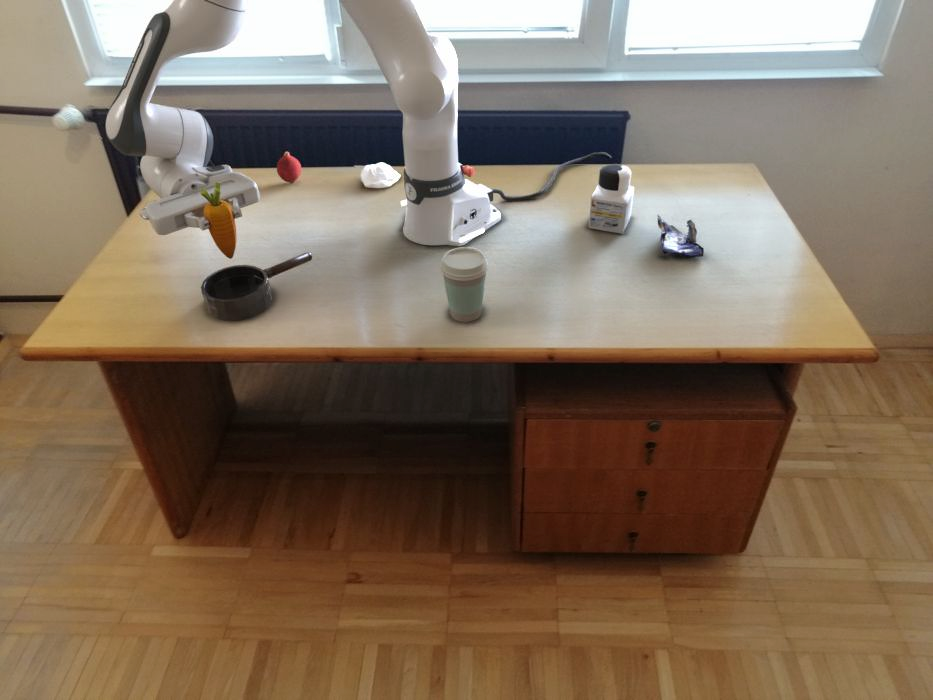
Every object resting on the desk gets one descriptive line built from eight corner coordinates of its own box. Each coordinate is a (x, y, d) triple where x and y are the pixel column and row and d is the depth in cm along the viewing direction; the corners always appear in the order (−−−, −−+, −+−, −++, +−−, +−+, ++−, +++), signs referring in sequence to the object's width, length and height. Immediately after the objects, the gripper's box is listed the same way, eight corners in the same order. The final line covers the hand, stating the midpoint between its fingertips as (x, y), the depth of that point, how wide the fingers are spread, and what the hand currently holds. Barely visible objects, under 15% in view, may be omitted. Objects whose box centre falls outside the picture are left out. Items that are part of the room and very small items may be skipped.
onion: (298, 189, 175) (292, 158, 170) (276, 187, 176) (269, 156, 171) (307, 178, 179) (301, 148, 174) (285, 177, 180) (279, 146, 175)
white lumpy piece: (356, 157, 177) (395, 152, 179) (358, 174, 180) (397, 169, 182) (361, 174, 170) (402, 169, 171) (363, 192, 173) (403, 186, 174)
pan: (253, 277, 145) (248, 258, 142) (283, 303, 138) (279, 283, 135) (196, 300, 139) (190, 281, 136) (224, 329, 132) (218, 309, 129)
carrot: (220, 268, 131) (199, 193, 122) (214, 255, 135) (193, 182, 125) (247, 261, 133) (228, 187, 123) (240, 248, 136) (222, 175, 127)
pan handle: (310, 257, 145) (308, 249, 144) (314, 260, 144) (313, 253, 143) (260, 277, 140) (258, 270, 139) (265, 281, 139) (263, 273, 138)
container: (587, 228, 157) (593, 173, 148) (596, 212, 162) (602, 158, 154) (623, 234, 154) (630, 178, 146) (630, 217, 160) (638, 163, 152)
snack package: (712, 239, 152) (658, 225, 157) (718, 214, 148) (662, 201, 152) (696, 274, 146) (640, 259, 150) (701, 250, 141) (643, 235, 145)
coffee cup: (496, 306, 135) (496, 251, 128) (475, 331, 129) (474, 275, 122) (456, 295, 138) (454, 241, 131) (434, 319, 133) (430, 263, 125)
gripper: (130, 195, 129) (160, 223, 121) (235, 161, 139) (269, 185, 131) (141, 226, 133) (171, 255, 125) (242, 191, 143) (276, 216, 135)
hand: (222, 219), depth 128 cm, fingers closed on carrot, 5 cm apart
